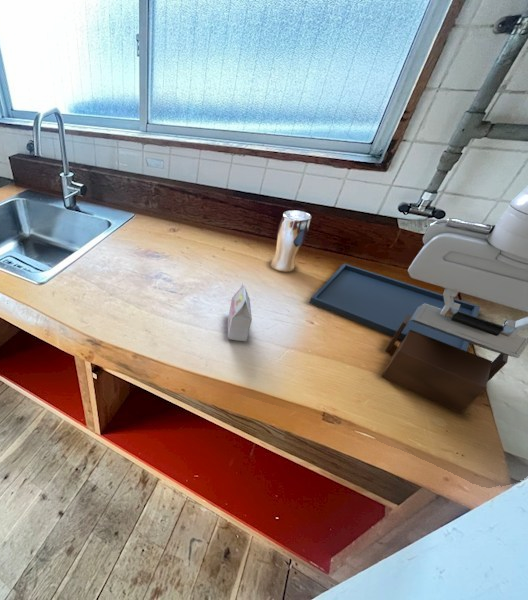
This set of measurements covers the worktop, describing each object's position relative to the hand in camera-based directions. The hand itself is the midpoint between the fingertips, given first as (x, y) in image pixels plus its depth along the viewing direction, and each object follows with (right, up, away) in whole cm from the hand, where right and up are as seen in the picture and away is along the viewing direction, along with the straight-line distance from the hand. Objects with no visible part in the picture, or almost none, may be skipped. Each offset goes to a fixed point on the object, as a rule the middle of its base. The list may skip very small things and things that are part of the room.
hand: (475, 323), depth 46 cm
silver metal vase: (-7, +13, +44) cm, 46 cm away
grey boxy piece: (-27, -3, +24) cm, 36 cm away
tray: (+10, +2, +28) cm, 30 cm away
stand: (+4, -10, +12) cm, 16 cm away
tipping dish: (+4, -3, +7) cm, 8 cm away
